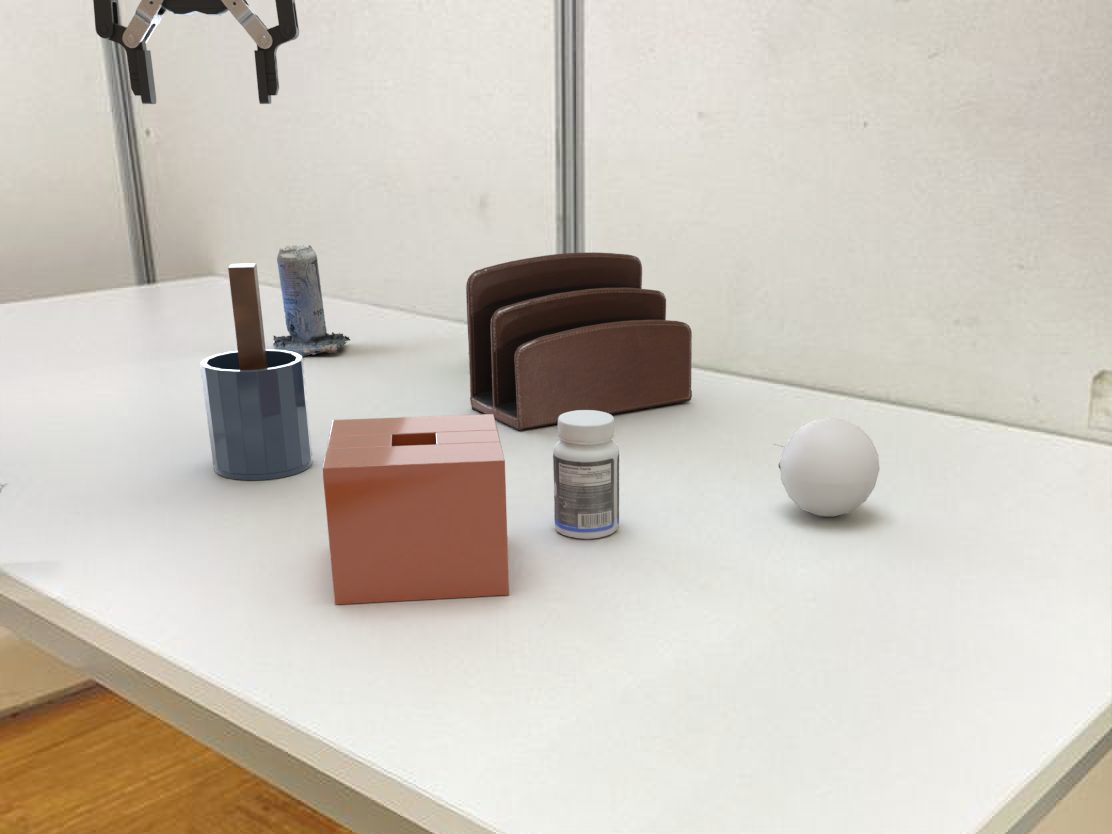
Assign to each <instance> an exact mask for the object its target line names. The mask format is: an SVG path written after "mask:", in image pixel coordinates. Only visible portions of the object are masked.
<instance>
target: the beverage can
mask: <svg viewBox="0 0 1112 834" xmlns="http://www.w3.org/2000/svg"><path fill="white" fill-rule="evenodd" d="M276 261H277V268H278V269H277V270H278V276H279V283H280V290H281V297H282V305H283V311H284V318H285V326H286V331H287V332H288V333H289V335H281V336H276V335H272V336H273V338H272V340H273V341H274V342H273V343H272V346H273V347H274V350H285V351H290V352H295V353H298V354H299V355H301V356H302V357H303V358H305V357H307V356H310V355H312V356H315V355H316V354H319V353H320V354H322V353H324V352H325V353H328V354H334V353H335V354H336V353H337V354H338V351H340V348H341V347H345V346H346V345H347V343H348V342H350V341H351V338H350V336H347V335H344V334H343V333H341V332H339V333H334V332H333V331H332V332H331V334H330V333H328V331H327V325H326V324H327V323H326V318H325V316H326V315H325V310H324V309H325V308H324V301H323V293H322V285H321V277H320V271H319V263H318V255H317V253H316V251H315V250H314V249H313V246H312V245H309V244H308V246H307V245H304V244H303V245H292V246H290V245H287V246H286V247H284V248H281V247H280V248H279V250H278V254H277V256H276Z"/></svg>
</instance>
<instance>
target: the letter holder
mask: <svg viewBox="0 0 1112 834" xmlns="http://www.w3.org/2000/svg"><path fill="white" fill-rule="evenodd" d="M642 287H643V265H642V262H641V259H640V258H639V257H638V256H636V255H632V254H626V253H615V252H593V251H592V252H564V253H553V254H546V255H540V256H534V257H528V258H527V257H526V258H522V259H516V260H511V261H505V262H502V263H497V264H494V265H491V266H487V267H483V268H480V269H477V270H475V271H473V272H472V273H471V274H470V275H469V277H468V278H467V281H466V285H465V291H466V292H465V295H466V297H465V298H466V322H467V323H466V324H467V340H468V366H469V367H468V368H469V393H470V395H469V401H470V402H469V403H470V407H471V410H473V411H474V410H475V411H477V412H479V413H481V414H494V417H495V421H498V422H500V423H503V424H505V425H508V426H509V427H510V428H513V429H515V430H517V431H523V430H529V429H533V428H538V427H545V426H553V425H558V417H559V416H560V415H561V414H563V413H566V412H570V411H576V410H595V411H601V412H605V413H608V414H610V415H612V416H613V415H616V414H621V413H627V412H632V411H633V412H634V411H639V410H640V411H641V410H645V409H650V408H657V407H662V406H664V407H665V406H668V405H674V404H681V403H687V402H690V401H691V400H692V397H693V390H692V359H693V358H692V357H693V356H692V355H693V353H692V351H693V349H692V344H693V342H692V340H693V339H692V337H693V336H692V334H693V333H692V332H693V331H692V328H691V327H690V325H689V324H687V323H686V322H684V321H680V320H679V321H678V320H668V319H667V297H666V296H665V294H664V292H662V291H661V290H656V289H649V288H648V289H647V288H642Z"/></svg>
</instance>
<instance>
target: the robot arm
mask: <svg viewBox="0 0 1112 834" xmlns="http://www.w3.org/2000/svg"><path fill="white" fill-rule="evenodd" d="M274 1H275V8H276V17H277V22H278V24H277V25H275V26H272V27H270V28H269V27H267V25H266V24H265V22H264V21H263V20H262V19H261V18H260V16H259V15H258V13H257V12H256V11H255V10H254V8H253V7H252V5H251V4H250V3H249V2H248V0H140V1H139V4H138V5H137V7H136V9H135V13H134V15H133V17H132V18H131V20H130V21H129V24H128V25H127V26H125V25H122V24H120V23H121V22H120V13H119V12H120V11H119V9H120V8H119V0H92V2H93V15H94V27H95V32H96V35H98V36H99V37H100V38H101V39H106V40H109V41H111V42H114V43H116V44H119V45H121V46H122V48H124V50H125V52H126V60H127V69H128V75H129V76H128V77H129V83H130V89H131V91H132V93H133V95H134V96H137V97H138V96H139V97H140V100H141V103H142V105H156V104H157V93H156V85H155V77H154V68H153V60H152V52H151V50H148V49H147V43H148V41H149V39H150V38H151V36H152V35H153V33H154V31H155V30H156V28H157V27H158V26H159V24H161V22H162V20H163V19H164V17H165V16H166V14H167V12H169V13H171V14H173V15H176V16H191V15H194V14H198V13H201V14H204V15H208V16H222V15H224V14H226V13H227V12H230V14H231V15H232V16H233V17H234V19H235V20H236V21H237V22H238V24H240V26H242V28H243V29H244V31H246V33H247V34H248V35H249V37H251V39H252V40H253V41H254V43H255V44H256V49H254V50H253V53H254V62H255V63H254V64H255V72H256V73H255V74H256V83H257V94H258V95H257V96H258V102H259V104H260V105H271V104H272V96H278V93H279V91H280V83H279V82H280V81H279V71H278V59H277V52H278V48H280V46H282V45H283V44H287V43H289V42H291V41H294V40H297V39H298V38H299V36H300V28H299V20H298V13H297V7H296V0H274Z"/></svg>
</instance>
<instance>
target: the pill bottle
mask: <svg viewBox="0 0 1112 834" xmlns="http://www.w3.org/2000/svg"><path fill="white" fill-rule="evenodd" d="M557 437H558V439H559V440H558V441H557V442H556V443H555V444H554V447H553V450H552V451H553V452H552V460H553V461H552V462H553V463H552V465H553V467H552V470H553V499H554V501H553V502H554V504H553V505H554V506H553V507H554V510H553V511H554V515H553V516H554V528H555V530H556V531H557V532H558V533H559V534H561V535H562V536H565V537H569V538H574V539H584V540H591V539H599V538H605V537H607V536H610V535H612V534H613V533H615V532H616V531H617V530H618V529H619V526H620V448H619V446H618V444H617V442H616V441H614V440H613V439H614V437H615V418H614V416H613V414H612V415H610V414H608V413H605V412H601V411H595V410H576V411H570V412H566V413H563V414H561V415H560V416H559V417H558V424H557Z"/></svg>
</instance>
